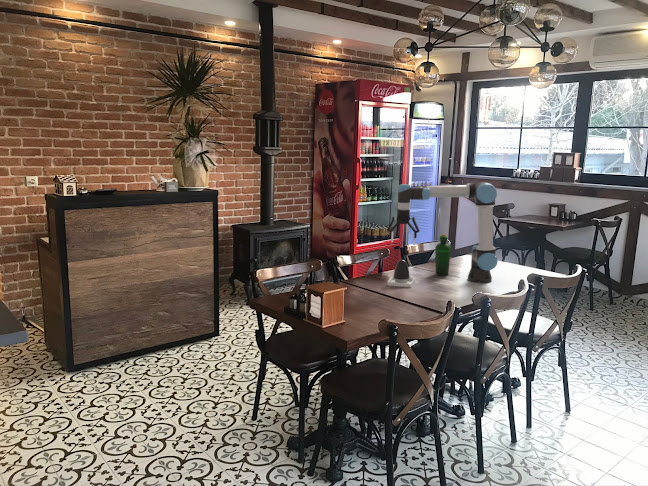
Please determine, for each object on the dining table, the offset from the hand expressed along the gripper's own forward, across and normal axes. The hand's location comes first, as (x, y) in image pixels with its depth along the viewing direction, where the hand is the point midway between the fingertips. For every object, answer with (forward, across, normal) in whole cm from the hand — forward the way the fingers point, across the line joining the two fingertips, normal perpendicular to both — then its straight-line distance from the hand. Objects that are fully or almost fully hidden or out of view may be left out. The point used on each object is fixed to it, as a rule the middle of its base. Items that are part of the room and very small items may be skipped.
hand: (402, 242), depth 330 cm
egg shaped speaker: (+26, 0, 0) cm, 26 cm away
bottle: (+27, -22, -34) cm, 49 cm away
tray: (+27, 0, 0) cm, 27 cm away
